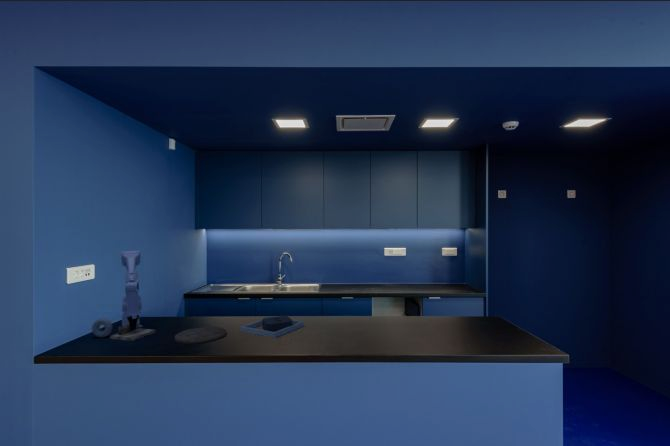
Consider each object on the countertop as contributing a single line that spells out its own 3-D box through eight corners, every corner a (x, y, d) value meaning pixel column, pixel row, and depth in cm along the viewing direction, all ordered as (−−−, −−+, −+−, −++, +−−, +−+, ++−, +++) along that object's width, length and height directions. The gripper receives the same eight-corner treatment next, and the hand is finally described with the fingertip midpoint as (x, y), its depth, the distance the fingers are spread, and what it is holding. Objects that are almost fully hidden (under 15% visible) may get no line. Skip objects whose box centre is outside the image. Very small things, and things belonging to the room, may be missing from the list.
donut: (114, 335, 199) (113, 317, 199) (110, 337, 195) (110, 318, 196) (94, 336, 198) (94, 317, 198) (90, 338, 195) (90, 319, 195)
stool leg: (121, 334, 194) (121, 327, 194) (116, 334, 195) (116, 327, 195) (138, 328, 205) (138, 321, 205) (134, 328, 206) (134, 321, 206)
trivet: (235, 335, 195) (235, 332, 195) (189, 348, 176) (188, 344, 176) (211, 327, 212) (211, 324, 212) (166, 338, 193) (166, 334, 193)
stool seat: (109, 338, 194) (109, 330, 194) (133, 330, 208) (133, 322, 208) (132, 340, 189) (132, 332, 189) (155, 332, 203) (155, 324, 203)
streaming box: (293, 330, 201) (293, 321, 201) (267, 334, 195) (266, 324, 195) (286, 324, 214) (286, 315, 214) (261, 327, 209) (261, 318, 209)
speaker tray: (240, 331, 201) (240, 326, 201) (271, 321, 221) (270, 317, 221) (274, 337, 188) (274, 332, 188) (303, 326, 209) (303, 321, 209)
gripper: (142, 305, 197) (143, 331, 196) (138, 301, 209) (139, 325, 208) (127, 307, 193) (128, 333, 192) (124, 303, 204) (125, 328, 204)
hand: (133, 329), depth 200 cm, fingers closed, pressing on stool leg
